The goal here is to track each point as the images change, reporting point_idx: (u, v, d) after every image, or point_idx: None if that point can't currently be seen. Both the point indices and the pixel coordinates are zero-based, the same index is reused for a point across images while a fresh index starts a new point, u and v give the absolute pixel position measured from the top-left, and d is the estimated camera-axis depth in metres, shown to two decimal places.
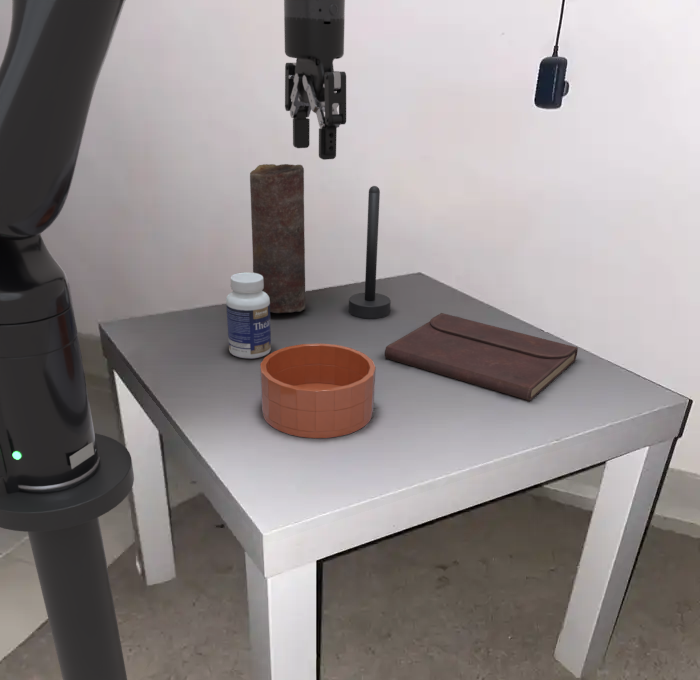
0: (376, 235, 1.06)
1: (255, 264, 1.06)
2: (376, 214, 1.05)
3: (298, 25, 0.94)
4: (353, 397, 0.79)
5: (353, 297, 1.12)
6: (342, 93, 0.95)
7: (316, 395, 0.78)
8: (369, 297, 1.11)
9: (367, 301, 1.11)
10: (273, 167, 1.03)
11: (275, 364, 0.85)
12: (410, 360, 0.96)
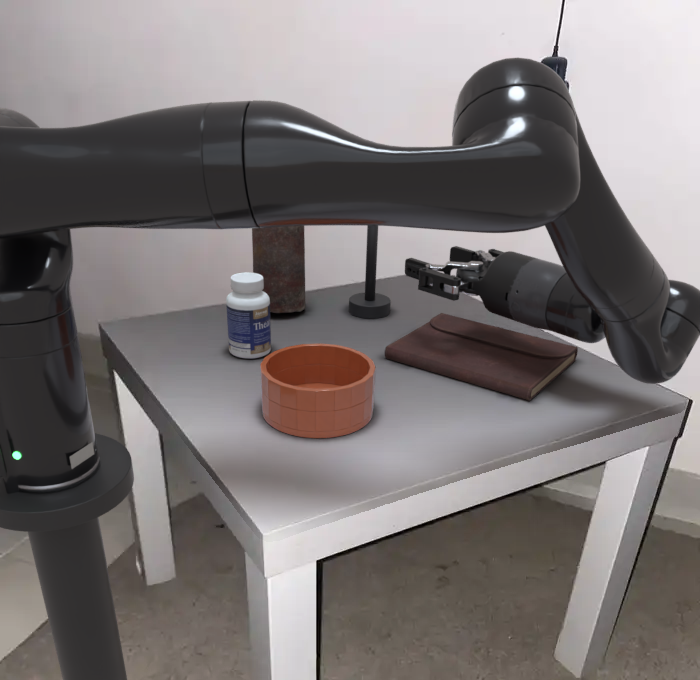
0: (376, 235, 1.06)
1: (255, 264, 1.06)
2: None
3: (516, 266, 0.88)
4: (353, 397, 0.79)
5: (353, 297, 1.12)
6: (439, 291, 0.92)
7: (316, 395, 0.78)
8: (369, 297, 1.11)
9: (367, 301, 1.11)
10: None
11: (275, 364, 0.85)
12: (410, 360, 0.96)
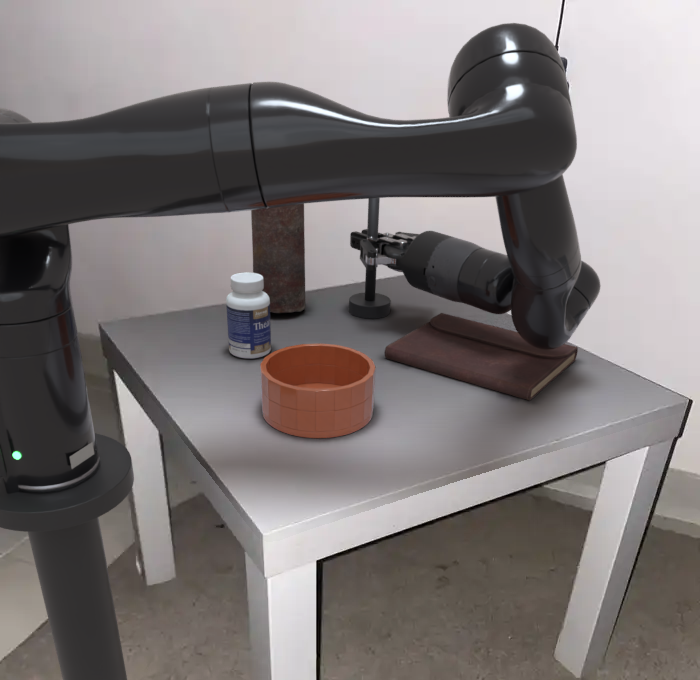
0: (376, 235, 1.06)
1: (255, 264, 1.06)
2: (376, 214, 1.05)
3: (433, 244, 0.96)
4: (353, 397, 0.79)
5: (353, 297, 1.12)
6: (364, 261, 1.02)
7: (316, 395, 0.78)
8: (369, 297, 1.11)
9: (367, 301, 1.11)
10: None
11: (275, 364, 0.85)
12: (410, 360, 0.96)
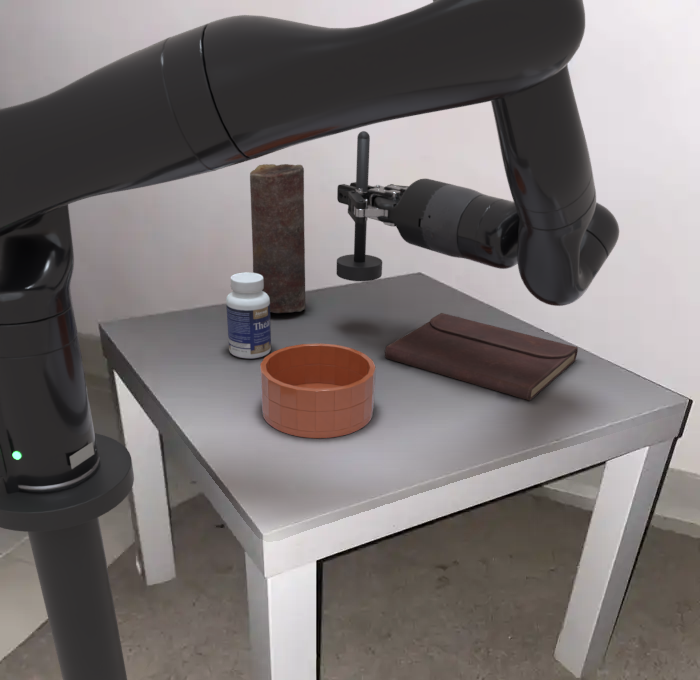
0: (366, 187, 0.96)
1: (255, 264, 1.06)
2: (366, 163, 0.94)
3: (429, 191, 0.86)
4: (353, 397, 0.79)
5: (341, 258, 1.02)
6: (352, 214, 0.92)
7: (316, 395, 0.78)
8: (359, 258, 1.00)
9: (356, 263, 1.00)
10: (273, 167, 1.03)
11: (275, 364, 0.85)
12: (410, 360, 0.96)
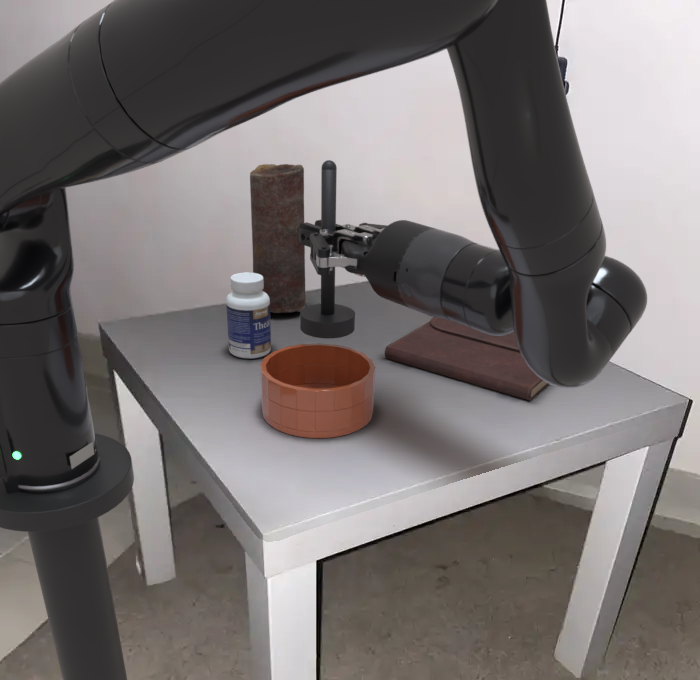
0: (333, 227, 0.79)
1: (255, 264, 1.06)
2: (332, 199, 0.78)
3: (406, 238, 0.69)
4: (353, 397, 0.79)
5: (306, 310, 0.85)
6: (315, 262, 0.75)
7: (316, 395, 0.78)
8: (326, 310, 0.84)
9: (324, 316, 0.84)
10: (273, 167, 1.03)
11: (275, 364, 0.85)
12: (410, 360, 0.96)
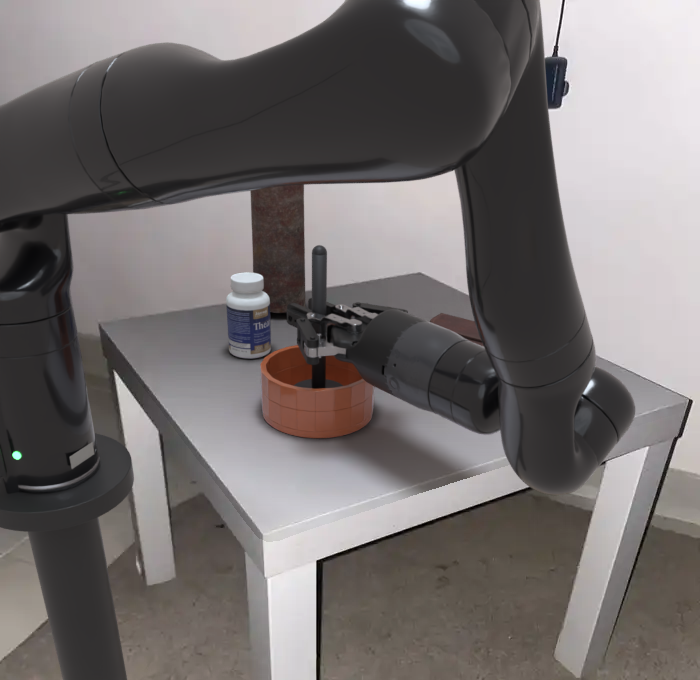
0: (324, 309, 0.79)
1: (255, 264, 1.06)
2: (323, 283, 0.77)
3: (395, 332, 0.69)
4: (353, 397, 0.79)
5: None
6: (303, 350, 0.74)
7: (316, 395, 0.78)
8: (317, 388, 0.83)
9: None
10: None
11: (275, 364, 0.85)
12: None
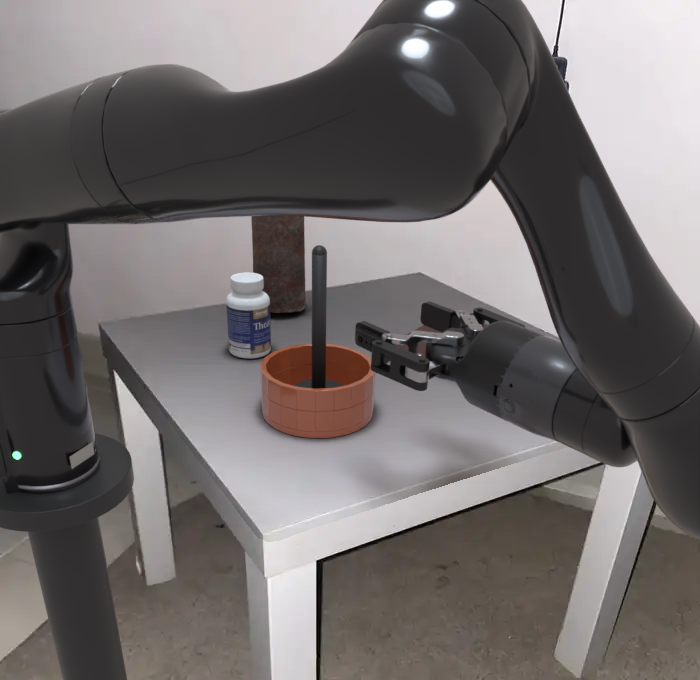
0: (324, 309, 0.79)
1: (255, 264, 1.06)
2: (323, 283, 0.77)
3: (510, 347, 0.60)
4: (353, 397, 0.79)
5: None
6: (399, 376, 0.64)
7: (316, 395, 0.78)
8: (317, 388, 0.83)
9: None
10: None
11: (275, 364, 0.85)
12: None
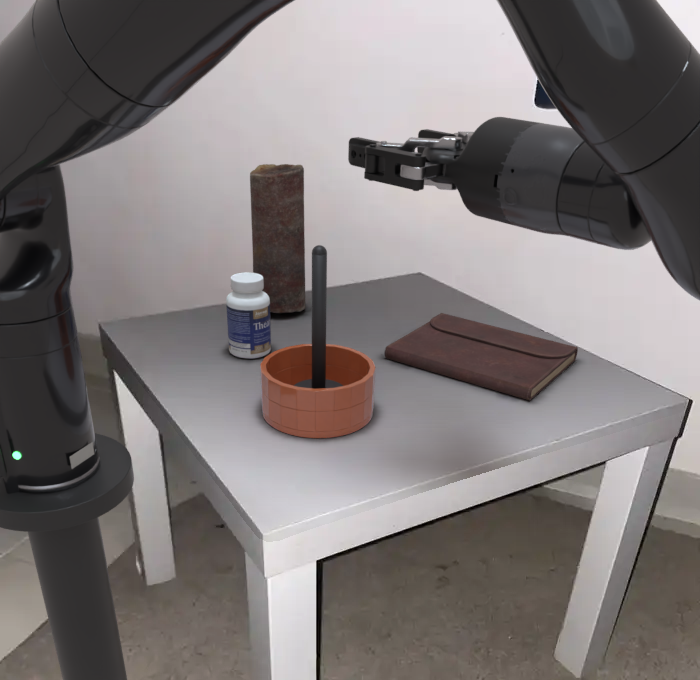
0: (324, 309, 0.79)
1: (255, 264, 1.06)
2: (323, 283, 0.77)
3: (511, 133, 0.57)
4: (353, 397, 0.79)
5: None
6: (394, 178, 0.60)
7: (316, 395, 0.78)
8: (317, 388, 0.83)
9: None
10: (273, 167, 1.03)
11: (275, 364, 0.85)
12: (410, 360, 0.96)
